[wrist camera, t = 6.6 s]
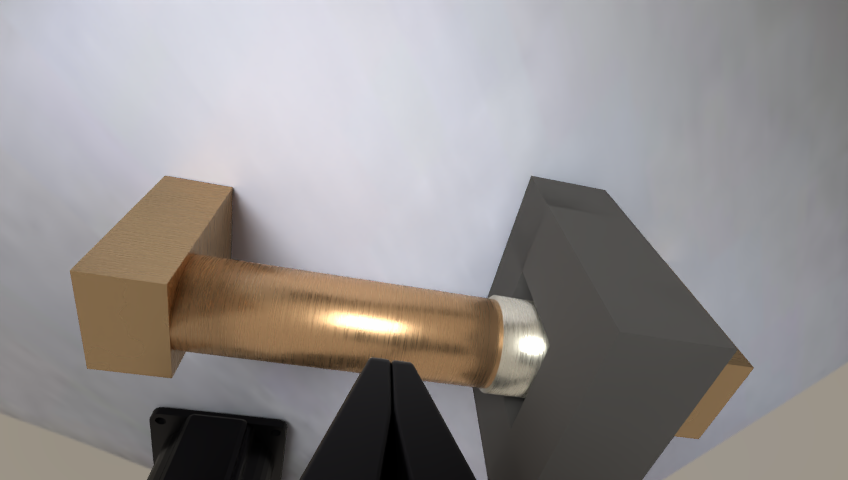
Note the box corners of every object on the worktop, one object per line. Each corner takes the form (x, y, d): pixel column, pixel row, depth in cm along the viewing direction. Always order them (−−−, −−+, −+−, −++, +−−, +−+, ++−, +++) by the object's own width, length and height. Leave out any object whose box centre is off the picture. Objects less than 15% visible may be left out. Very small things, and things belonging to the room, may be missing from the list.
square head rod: (666, 262, 21) (756, 371, 16) (630, 325, 23) (701, 442, 18) (164, 175, 18) (66, 273, 13) (169, 256, 20) (84, 372, 14)
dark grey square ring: (605, 190, 19) (737, 349, 11) (527, 362, 23) (586, 554, 16) (531, 176, 18) (620, 332, 11) (467, 354, 23) (499, 548, 16)
